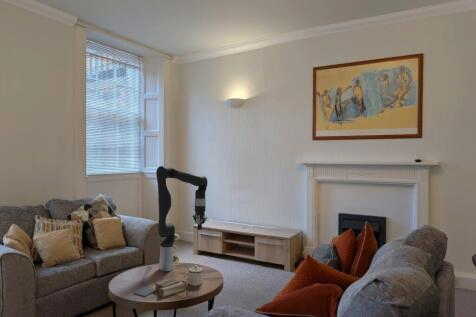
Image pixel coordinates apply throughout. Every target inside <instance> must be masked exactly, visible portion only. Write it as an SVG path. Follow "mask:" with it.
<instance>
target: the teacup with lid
mask: <svg viewBox="0 0 476 317" xmlns="http://www.w3.org/2000/svg"><path fill="white" fill-rule="evenodd" d="M203 271H204V269H203V268H202V267H199V266H198V265H197V264H196V265H194V266H192V267H191V268H189V269H188V272H185V273H184V275H183V278H184V279H185V280H186V281H188V284H189V285H190V286H194V287H196V286H201V285H202V284H203ZM186 275H188V278H186Z"/></svg>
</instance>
